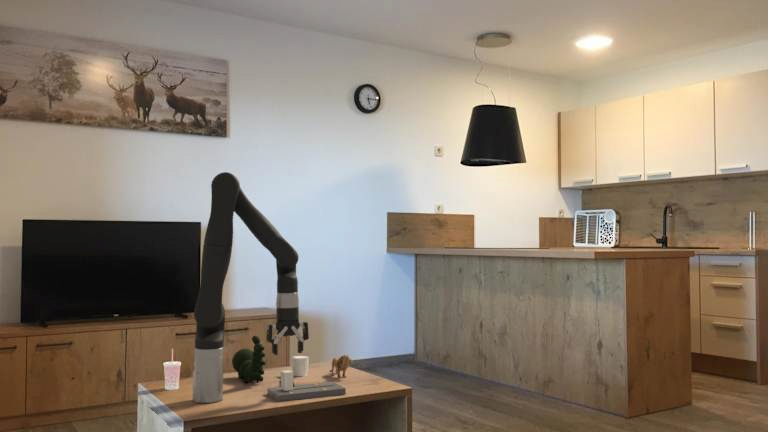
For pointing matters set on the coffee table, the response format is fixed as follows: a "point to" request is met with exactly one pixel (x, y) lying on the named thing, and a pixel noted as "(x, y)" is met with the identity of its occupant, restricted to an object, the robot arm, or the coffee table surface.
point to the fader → (286, 380)
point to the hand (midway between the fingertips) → (287, 353)
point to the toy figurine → (250, 362)
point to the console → (306, 391)
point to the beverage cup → (172, 374)
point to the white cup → (300, 365)
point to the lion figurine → (341, 365)
